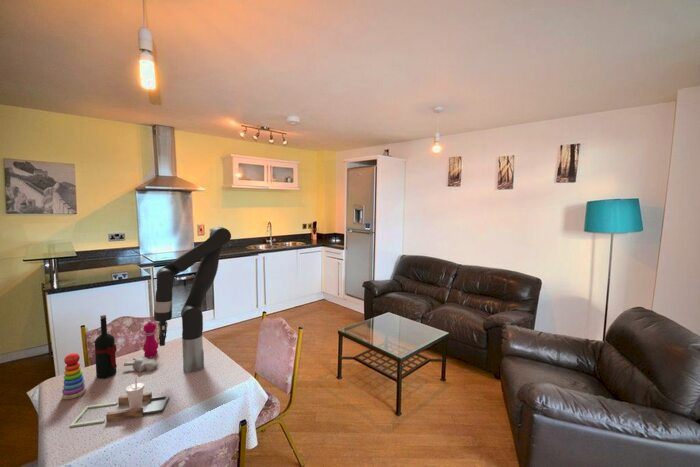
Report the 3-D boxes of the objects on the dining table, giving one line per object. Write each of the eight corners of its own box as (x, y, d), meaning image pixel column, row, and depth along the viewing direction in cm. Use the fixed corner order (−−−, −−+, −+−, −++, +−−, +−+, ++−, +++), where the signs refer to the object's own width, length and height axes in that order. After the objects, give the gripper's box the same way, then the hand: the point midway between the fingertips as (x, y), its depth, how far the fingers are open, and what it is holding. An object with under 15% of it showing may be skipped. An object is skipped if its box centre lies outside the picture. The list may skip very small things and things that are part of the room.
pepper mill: (142, 359, 170) (140, 323, 168) (144, 353, 176) (142, 319, 174) (158, 356, 173) (156, 321, 171) (159, 350, 179) (157, 317, 178)
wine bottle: (107, 381, 149) (104, 320, 146) (92, 377, 152) (88, 317, 149) (123, 372, 156) (120, 314, 153) (108, 369, 159) (105, 312, 156)
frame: (117, 403, 133) (117, 401, 133) (103, 422, 121) (103, 420, 121) (86, 407, 130) (86, 405, 130) (69, 427, 118) (69, 425, 118)
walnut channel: (152, 398, 136) (151, 392, 136) (141, 416, 125) (141, 409, 124) (120, 402, 133) (119, 396, 133) (106, 421, 121) (106, 414, 121)
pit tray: (169, 397, 137) (169, 395, 137) (162, 412, 127) (162, 409, 127) (151, 400, 135) (151, 397, 135) (142, 415, 125) (142, 412, 125)
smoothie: (135, 415, 125) (134, 382, 124) (122, 412, 127) (120, 380, 125) (149, 405, 132) (147, 373, 130) (136, 403, 133) (134, 371, 132)
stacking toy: (90, 391, 140) (87, 351, 139) (69, 402, 133) (66, 359, 131) (78, 387, 143) (76, 348, 141) (57, 398, 135) (54, 356, 134)
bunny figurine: (147, 367, 154) (121, 360, 157) (147, 376, 155) (121, 370, 157) (162, 357, 164) (137, 352, 166) (161, 367, 164) (136, 361, 167)
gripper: (173, 313, 147) (171, 346, 148) (171, 304, 159) (169, 335, 160) (154, 314, 143) (152, 349, 144) (153, 306, 155) (152, 338, 156)
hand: (161, 342), depth 152 cm, fingers open, 8 cm apart
